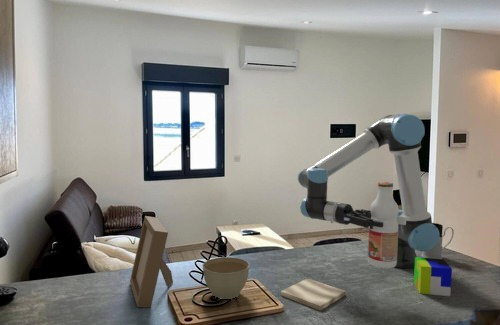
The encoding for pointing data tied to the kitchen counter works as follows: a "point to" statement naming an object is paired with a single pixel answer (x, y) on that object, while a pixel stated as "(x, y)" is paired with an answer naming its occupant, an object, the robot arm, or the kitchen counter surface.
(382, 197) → the fruit juice
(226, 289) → the planter bowl
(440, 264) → the puzzle toy
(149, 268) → the photo frame
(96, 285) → the kitchen counter surface
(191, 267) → the kitchen counter surface
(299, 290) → the birch board
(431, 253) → the grey pitcher
